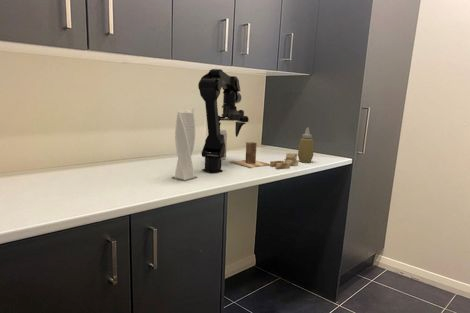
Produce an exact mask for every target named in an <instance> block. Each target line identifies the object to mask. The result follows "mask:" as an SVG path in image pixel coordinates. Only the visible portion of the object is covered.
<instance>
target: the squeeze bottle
mask: <svg viewBox="0 0 470 313" xmlns="http://www.w3.org/2000/svg"><path fill="white" fill-rule="evenodd" d="M312 136H313V135H312V134H311V133H310V127H306V129H305V132H304V134H303V133H302V137H301V138H300V141H299V146H298V151H297V158H298V160H299V163H300V162H301V163H305V164H306V163H311V162H312V160H313V157H314V139H312V138H313V137H312Z"/></svg>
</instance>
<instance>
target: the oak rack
mask: <svg viewBox="0 0 470 313" xmlns="http://www.w3.org/2000/svg"><path fill="white" fill-rule="evenodd" d="M269 162H270V163H269V164H270V165H269V167H270V168H271V167H272V168H275V170H283V169H284V170H285V169H290V168H291V166H290V163H284V160H270V161H269Z"/></svg>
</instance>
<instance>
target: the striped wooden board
mask: <svg viewBox="0 0 470 313" xmlns="http://www.w3.org/2000/svg"><path fill="white" fill-rule="evenodd" d="M245 160H246V159H242V160H234V161H230V162H229V163H230V164H233V165H237V166H241V167H245V168H249V169H252V168H260V167H264V166H265V167H266V166H267V167H268V166H270V163H269V162H263V161H259V160H256V162H255V163H254V164H248V163H245Z"/></svg>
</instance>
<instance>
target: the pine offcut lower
mask: <svg viewBox="0 0 470 313" xmlns="http://www.w3.org/2000/svg"><path fill="white" fill-rule="evenodd" d="M283 161H284V163H290V167H299V163H300V161H299V159H297V160H294V161H292V160H286V158H284V160H283Z"/></svg>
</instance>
